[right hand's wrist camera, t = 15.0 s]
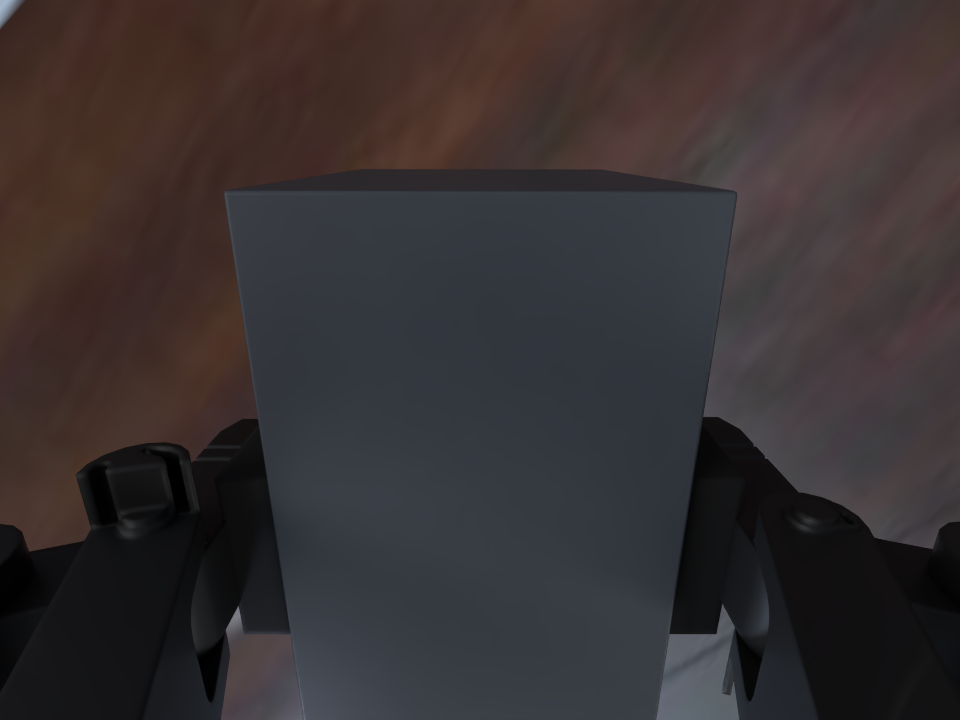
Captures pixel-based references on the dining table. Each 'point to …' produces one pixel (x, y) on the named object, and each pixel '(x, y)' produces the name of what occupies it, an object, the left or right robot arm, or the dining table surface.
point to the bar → (480, 430)
